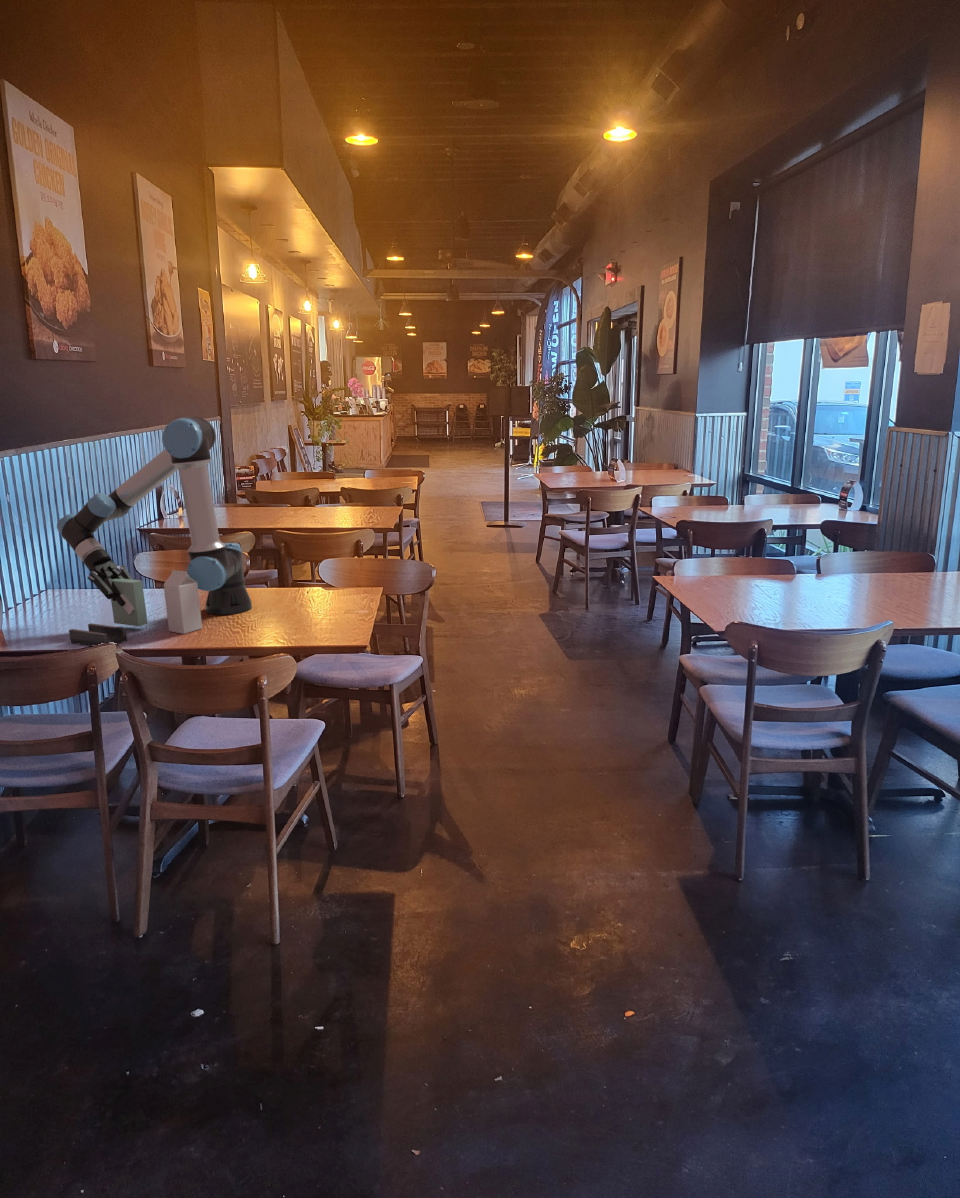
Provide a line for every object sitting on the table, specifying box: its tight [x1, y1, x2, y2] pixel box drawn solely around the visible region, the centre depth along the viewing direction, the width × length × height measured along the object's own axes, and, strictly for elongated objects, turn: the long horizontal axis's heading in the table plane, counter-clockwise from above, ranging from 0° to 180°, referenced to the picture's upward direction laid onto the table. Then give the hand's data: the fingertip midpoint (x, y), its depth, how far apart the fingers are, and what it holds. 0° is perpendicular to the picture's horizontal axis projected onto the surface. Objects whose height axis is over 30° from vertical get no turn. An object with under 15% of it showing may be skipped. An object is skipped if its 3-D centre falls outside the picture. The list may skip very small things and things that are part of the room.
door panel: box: [110, 578, 148, 627], centre depth 267 cm, size 11×4×14 cm, turn 63°
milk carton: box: [163, 569, 203, 635], centre depth 263 cm, size 7×7×19 cm
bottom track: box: [68, 623, 128, 647], centre depth 255 cm, size 15×8×4 cm, turn 63°
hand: (137, 610), depth 266 cm, fingers closed on door panel, 3 cm apart
